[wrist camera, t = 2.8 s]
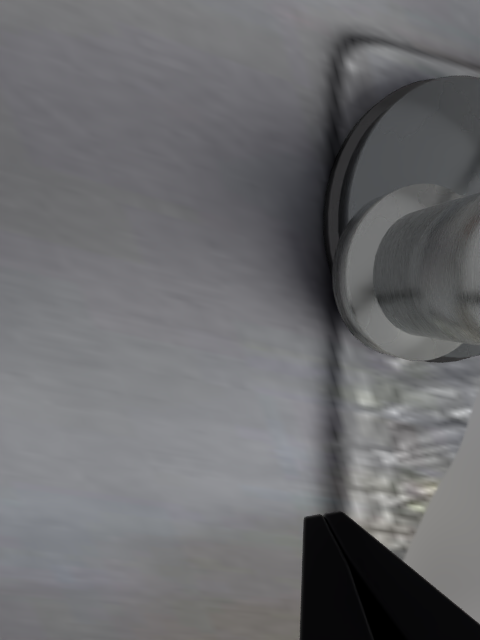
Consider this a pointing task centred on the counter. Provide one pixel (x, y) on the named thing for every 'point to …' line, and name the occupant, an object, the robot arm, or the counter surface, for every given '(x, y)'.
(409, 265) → the cover
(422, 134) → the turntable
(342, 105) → the counter surface
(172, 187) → the counter surface
